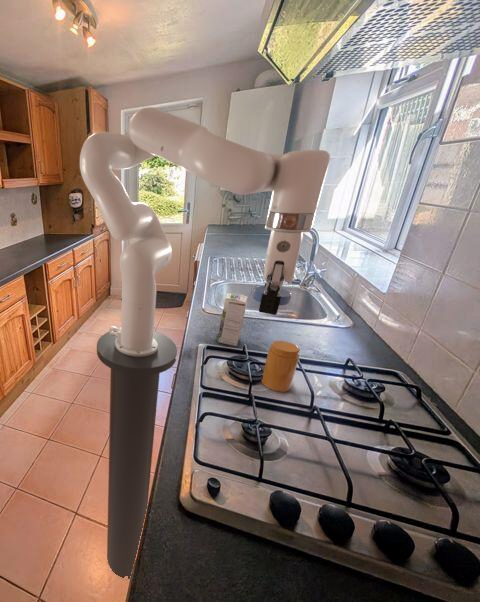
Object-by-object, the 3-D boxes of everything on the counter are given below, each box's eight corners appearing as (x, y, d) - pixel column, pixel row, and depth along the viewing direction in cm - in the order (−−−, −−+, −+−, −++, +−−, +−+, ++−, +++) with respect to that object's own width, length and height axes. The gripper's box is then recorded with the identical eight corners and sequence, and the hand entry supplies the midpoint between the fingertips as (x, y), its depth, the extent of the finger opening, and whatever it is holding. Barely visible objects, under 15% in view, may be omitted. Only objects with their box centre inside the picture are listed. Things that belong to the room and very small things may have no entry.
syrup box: (219, 334, 97) (226, 292, 91) (239, 338, 94) (248, 295, 88) (216, 342, 92) (224, 298, 87) (238, 347, 89) (247, 302, 84)
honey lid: (290, 297, 65) (292, 289, 64) (288, 308, 60) (291, 299, 59) (254, 291, 68) (256, 284, 67) (250, 301, 63) (252, 293, 62)
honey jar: (260, 386, 72) (270, 348, 68) (261, 373, 77) (270, 337, 73) (290, 394, 69) (302, 355, 65) (289, 381, 74) (300, 343, 70)
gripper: (315, 229, 49) (288, 326, 56) (310, 217, 63) (289, 297, 69) (263, 226, 53) (244, 318, 60) (268, 216, 66) (252, 291, 73)
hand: (268, 306), depth 65 cm, fingers closed on honey lid, 6 cm apart
